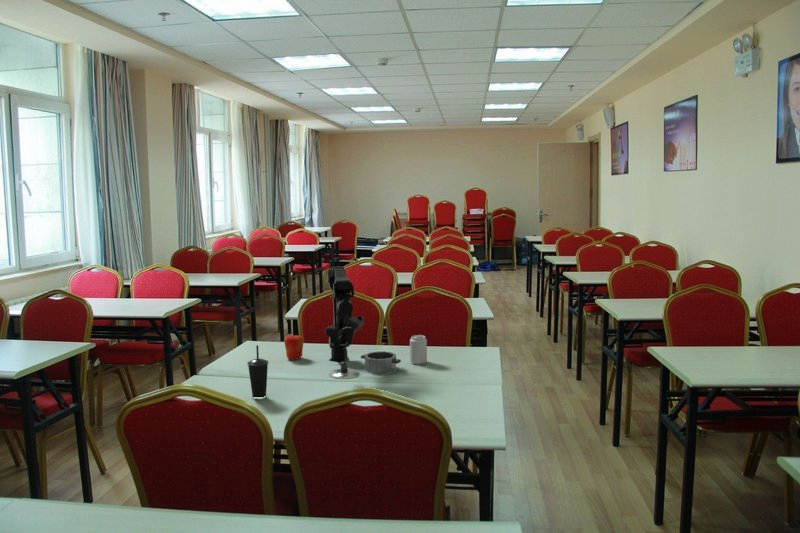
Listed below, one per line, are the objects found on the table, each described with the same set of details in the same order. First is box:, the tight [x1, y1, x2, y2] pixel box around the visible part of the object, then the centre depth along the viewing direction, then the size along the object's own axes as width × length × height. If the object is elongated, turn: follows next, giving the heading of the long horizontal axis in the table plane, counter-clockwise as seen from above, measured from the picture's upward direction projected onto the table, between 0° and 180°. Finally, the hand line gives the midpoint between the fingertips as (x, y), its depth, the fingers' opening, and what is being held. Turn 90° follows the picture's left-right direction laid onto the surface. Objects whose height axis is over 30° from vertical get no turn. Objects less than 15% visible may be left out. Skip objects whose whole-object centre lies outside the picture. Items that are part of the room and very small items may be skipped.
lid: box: [328, 361, 360, 380], centre depth 266 cm, size 13×13×5 cm
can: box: [409, 334, 428, 366], centre depth 281 cm, size 8×8×12 cm
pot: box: [360, 350, 402, 375], centre depth 272 cm, size 18×13×6 cm
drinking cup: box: [247, 345, 270, 398], centre depth 236 cm, size 8×8×20 cm
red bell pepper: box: [284, 333, 304, 361], centre depth 289 cm, size 9×8×12 cm
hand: (343, 347), depth 264 cm, fingers open, 9 cm apart
